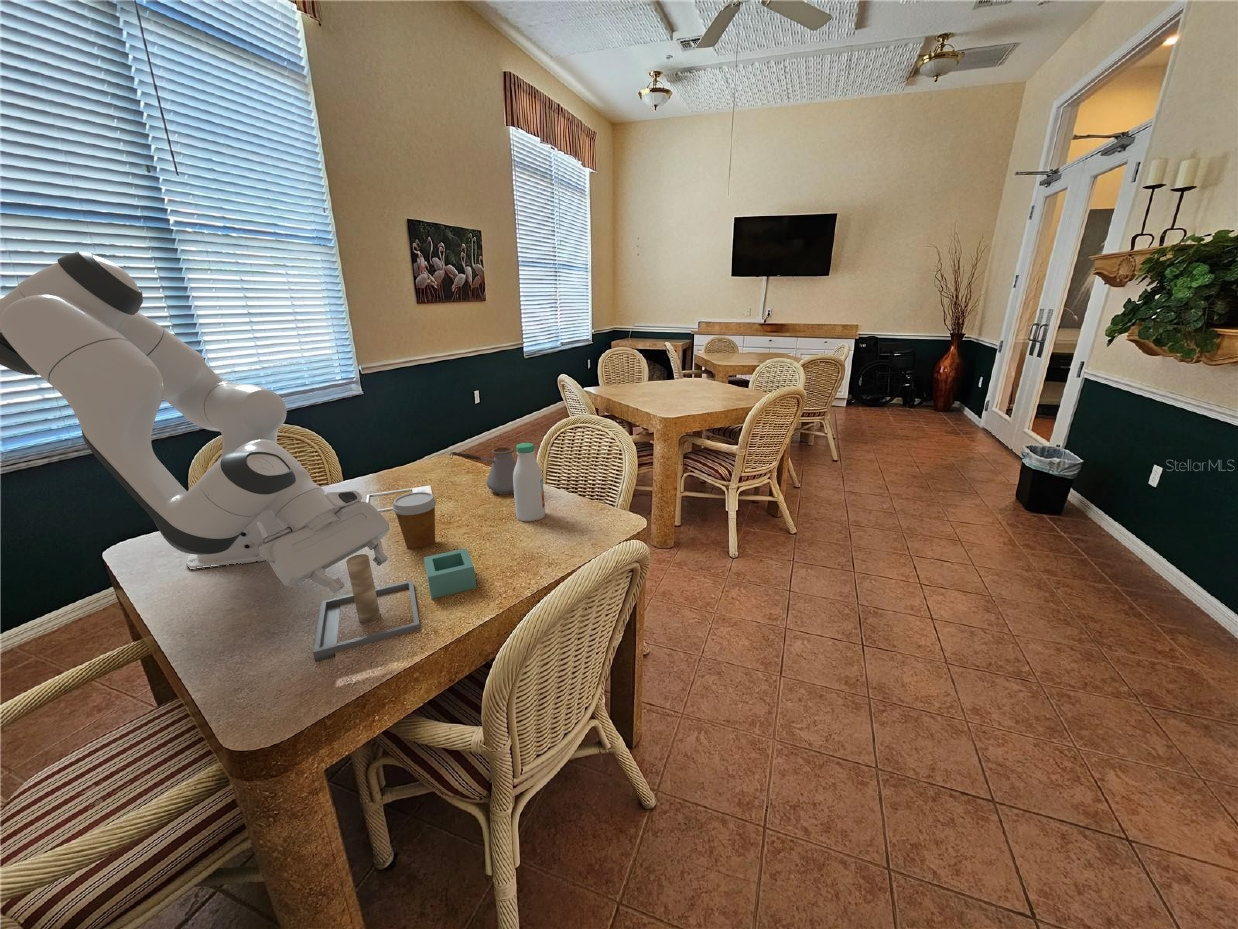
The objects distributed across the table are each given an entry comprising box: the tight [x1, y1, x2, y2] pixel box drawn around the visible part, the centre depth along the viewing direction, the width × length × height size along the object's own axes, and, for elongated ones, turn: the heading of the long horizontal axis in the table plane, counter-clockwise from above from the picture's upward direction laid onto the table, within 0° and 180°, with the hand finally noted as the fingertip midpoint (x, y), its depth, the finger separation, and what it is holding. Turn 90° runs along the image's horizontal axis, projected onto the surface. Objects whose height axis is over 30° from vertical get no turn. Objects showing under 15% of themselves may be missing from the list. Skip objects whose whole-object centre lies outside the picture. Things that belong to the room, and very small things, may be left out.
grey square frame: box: [312, 579, 421, 662], centre depth 89 cm, size 16×16×2 cm
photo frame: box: [365, 485, 433, 513], centre depth 145 cm, size 15×1×18 cm
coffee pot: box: [449, 446, 517, 495], centre depth 146 cm, size 21×12×15 cm, turn 125°
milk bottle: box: [513, 442, 546, 522], centre depth 129 cm, size 8×8×20 cm
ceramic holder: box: [423, 548, 477, 600], centre depth 99 cm, size 8×8×6 cm
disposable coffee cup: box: [391, 492, 437, 550], centre depth 115 cm, size 10×10×12 cm
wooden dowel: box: [345, 553, 381, 624], centre depth 88 cm, size 4×4×12 cm
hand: (362, 575), depth 87 cm, fingers open, 8 cm apart
